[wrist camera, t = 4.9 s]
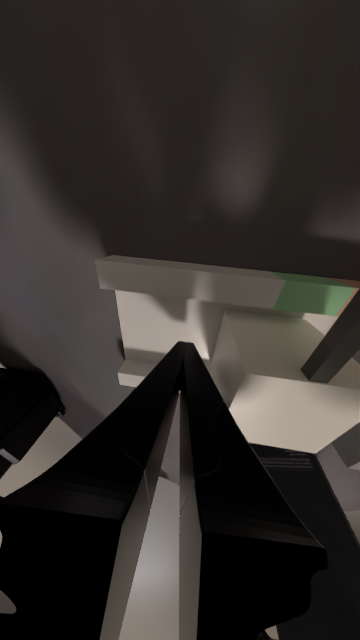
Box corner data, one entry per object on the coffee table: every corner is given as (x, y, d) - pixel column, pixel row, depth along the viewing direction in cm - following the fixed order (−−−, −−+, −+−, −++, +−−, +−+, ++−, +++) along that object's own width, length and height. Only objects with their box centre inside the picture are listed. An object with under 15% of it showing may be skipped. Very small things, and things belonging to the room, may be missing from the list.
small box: (237, 441, 16) (288, 725, 7) (309, 439, 14) (515, 823, 5) (252, 477, 20) (294, 673, 11) (307, 479, 18) (410, 713, 9)
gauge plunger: (210, 364, 10) (216, 436, 6) (240, 249, 6) (291, 271, 3) (273, 373, 9) (315, 453, 6) (342, 259, 6) (534, 297, 3)
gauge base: (128, 367, 11) (98, 425, 8) (113, 254, 7) (36, 275, 4) (338, 398, 11) (404, 477, 7) (453, 290, 6) (741, 357, 3)
